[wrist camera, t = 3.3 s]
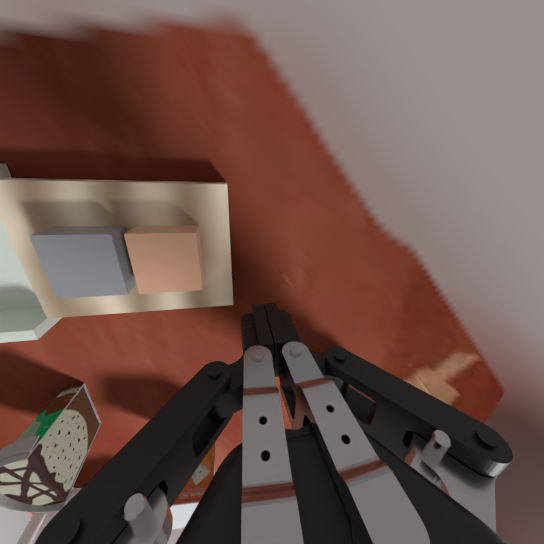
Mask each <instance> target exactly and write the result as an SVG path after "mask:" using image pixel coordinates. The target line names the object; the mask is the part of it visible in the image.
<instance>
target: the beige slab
mask: <svg viewBox="0 0 544 544" xmlns="http://www.w3.org/2000/svg"><path fill="white" fill-rule="evenodd" d="M0 221H1V223H2V225H3V227H4V229H5V231H6V233H7V235H8V238H9V240H10V242H11V244H12V246H13V248H14V250H15V252H16V254H17V256H18V258H19V260H20V263H21V265H22V267H23V269H24V271H25V273H26V275H27V277H28V279H29V281H30V283H31V285H32V288H33V290H34V292H35V294H36V296H37V298H38V300H39V302H40V304H41V306H42V308H43V310H44V313H45V315H46V317H47V318H59V317H73V316H87V315H101V314H115V313H128V312H142V311H156V310H170V309H184V308H198V307H212V306H226V305H233V285H232V266H231V246H230V226H229V207H228V187H227V183H226V182H180V181H133V180H87V179H41V178H0ZM174 225H200V233H201V242H202V251H203V261H204V270H205V281H204V286H203V290H197V291H180V292H163V293H146V294H139V292H138V288H137V284H136V285H135V286H134V287H133V289H132V290H131V291H130V292H129V294H128V295H113V296H96V297H79V298H62V299H57V298H56V296H55V294H54V291H53V289H52V287H51V285H50V282H49V280H48V278H47V275H46V273H45V271H44V269H43V266H42V264H41V262H40V259H39V257H38V255H37V253H36V250H35V248H34V246H33V244H32V241H31V239H30V237H29V235H32V234H35V233H38V232H41V231H44V230H47V229H50V228H53V227H80V226H125V227H126V231H127V232H128V231H129V230H131V229H132V228H134V227H136V226H174Z"/></svg>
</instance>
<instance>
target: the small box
mask: <svg viewBox="0 0 544 544" xmlns="http://www.w3.org/2000/svg"><path fill="white" fill-rule="evenodd" d="M215 449H216V441H215V443H214V444H213V446H212V447H211V449H210V450H209V452H208V453H207V455H206V456H205V457H204V459H203V460H202V462H201V463H200V465H199V466H198V468H197V469H196V471H195V472H194V474H193V475H192V477H191V478H190V480H189V481H188V483H187V484H186V485H185V487H184V488H183V490H182V491H181V493H180V494H179V496H178V497H177V499H176V500H175V502H174V503H173V505H172V506H171V508H170V509H171V512H172V517H173V526H172V530H173V529H179V528H184V527H185V526H186V524H187V523H188V521H189V519H190V517H191V516H192V514H193V512H194V510H195V509H196V507H197V505H198V503H199V502H200V500H201V498H202V496H203V494H204V493H205V491H206V489H207V487H208V486H209V484H210V482H211V480H212V479H213V477H214V467H215Z"/></svg>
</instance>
